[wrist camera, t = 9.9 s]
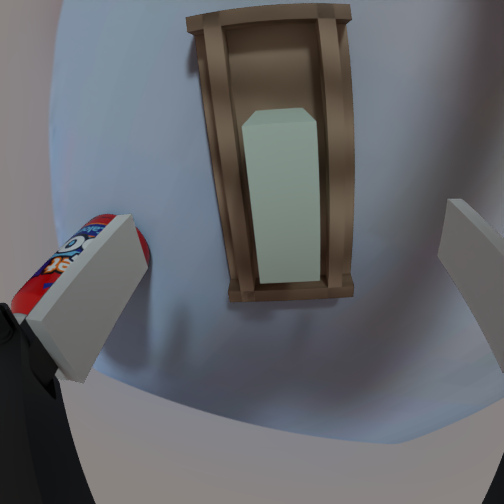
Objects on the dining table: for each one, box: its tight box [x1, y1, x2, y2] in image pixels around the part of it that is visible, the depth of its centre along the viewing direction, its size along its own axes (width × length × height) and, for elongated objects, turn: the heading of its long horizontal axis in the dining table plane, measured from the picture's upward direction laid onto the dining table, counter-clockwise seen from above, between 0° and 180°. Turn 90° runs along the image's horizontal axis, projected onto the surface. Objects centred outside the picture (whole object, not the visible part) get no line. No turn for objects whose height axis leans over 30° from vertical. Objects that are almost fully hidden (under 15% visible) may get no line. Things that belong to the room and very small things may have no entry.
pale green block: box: [242, 108, 320, 283], centre depth 20 cm, size 9×4×9 cm, turn 6°
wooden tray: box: [186, 3, 355, 302], centre depth 23 cm, size 24×11×3 cm, turn 6°
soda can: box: [11, 214, 150, 380], centre depth 24 cm, size 8×8×15 cm
